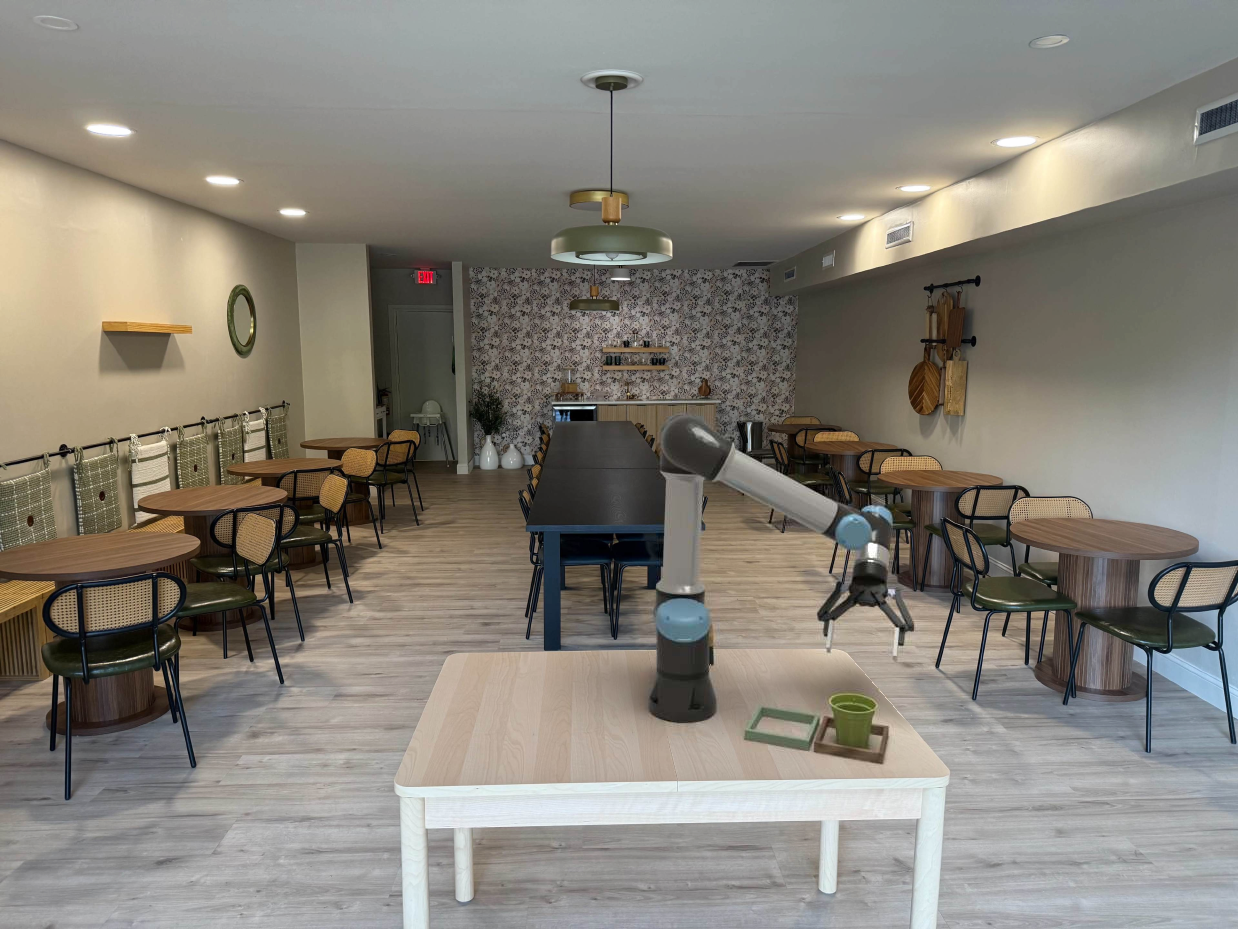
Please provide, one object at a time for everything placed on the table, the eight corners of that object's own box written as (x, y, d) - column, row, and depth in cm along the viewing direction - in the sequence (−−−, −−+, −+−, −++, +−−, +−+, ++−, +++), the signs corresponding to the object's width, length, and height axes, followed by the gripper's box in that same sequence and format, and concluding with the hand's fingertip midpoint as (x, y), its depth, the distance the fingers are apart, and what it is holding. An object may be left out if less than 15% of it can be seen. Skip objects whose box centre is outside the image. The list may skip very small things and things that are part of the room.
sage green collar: (744, 739, 165) (744, 730, 165) (759, 713, 177) (759, 705, 177) (808, 750, 160) (808, 741, 160) (819, 723, 172) (819, 714, 171)
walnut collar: (813, 751, 159) (814, 742, 159) (824, 724, 171) (824, 715, 171) (882, 764, 154) (882, 754, 154) (888, 735, 166) (888, 726, 166)
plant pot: (818, 741, 164) (819, 700, 163) (847, 728, 169) (849, 689, 168) (856, 759, 156) (857, 716, 155) (885, 745, 162) (887, 704, 161)
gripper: (929, 582, 180) (924, 670, 169) (816, 571, 190) (803, 654, 178) (929, 564, 175) (923, 654, 163) (813, 554, 184) (799, 638, 173)
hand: (861, 654), depth 171 cm, fingers open, 13 cm apart
